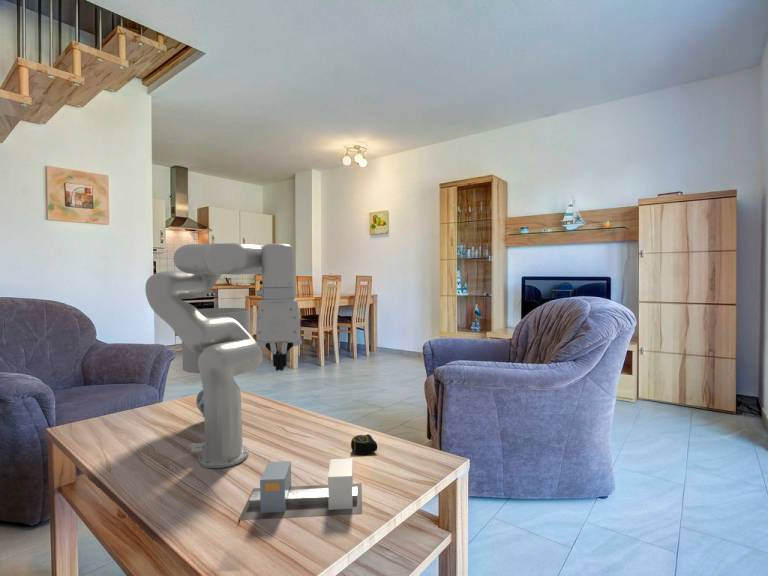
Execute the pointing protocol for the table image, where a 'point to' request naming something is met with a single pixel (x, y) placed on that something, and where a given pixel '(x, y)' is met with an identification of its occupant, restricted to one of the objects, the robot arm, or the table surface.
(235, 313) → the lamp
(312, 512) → the mounting board
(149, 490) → the table surface
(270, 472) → the block
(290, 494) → the rail
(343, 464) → the mounted module
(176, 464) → the table surface
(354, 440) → the tape measure
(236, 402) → the robot arm
